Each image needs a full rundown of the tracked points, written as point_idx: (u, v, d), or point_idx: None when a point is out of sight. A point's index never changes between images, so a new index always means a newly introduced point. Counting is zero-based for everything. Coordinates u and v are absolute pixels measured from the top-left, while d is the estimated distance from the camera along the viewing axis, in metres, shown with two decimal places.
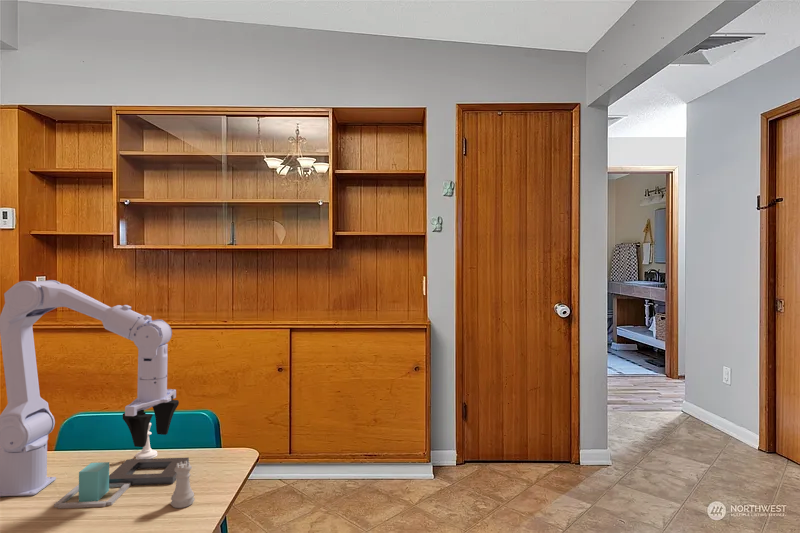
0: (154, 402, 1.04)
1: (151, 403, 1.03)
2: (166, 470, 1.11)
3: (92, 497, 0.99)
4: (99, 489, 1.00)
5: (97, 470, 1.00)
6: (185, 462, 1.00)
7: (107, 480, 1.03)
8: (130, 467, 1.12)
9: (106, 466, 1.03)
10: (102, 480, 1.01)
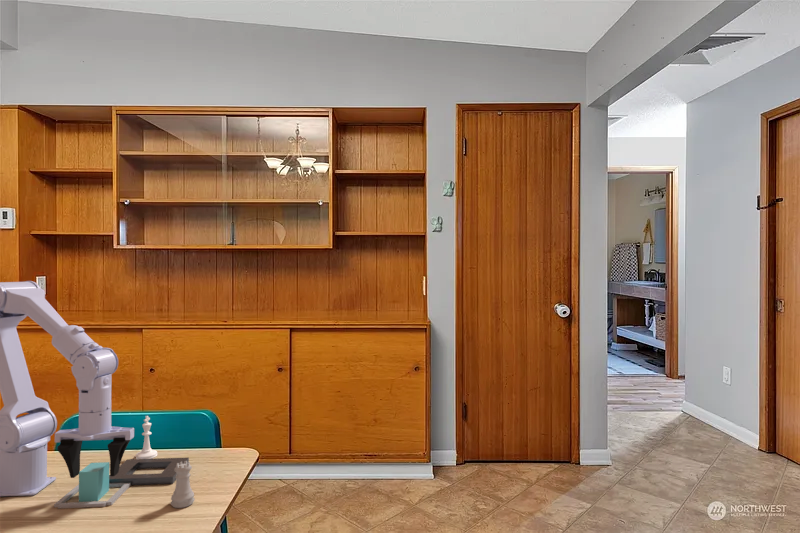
0: (75, 435, 0.99)
1: (73, 435, 0.99)
2: (166, 470, 1.11)
3: (92, 497, 0.99)
4: (99, 489, 1.00)
5: (97, 470, 1.00)
6: (185, 462, 1.00)
7: (107, 480, 1.03)
8: (130, 467, 1.12)
9: (106, 466, 1.03)
10: (102, 480, 1.01)
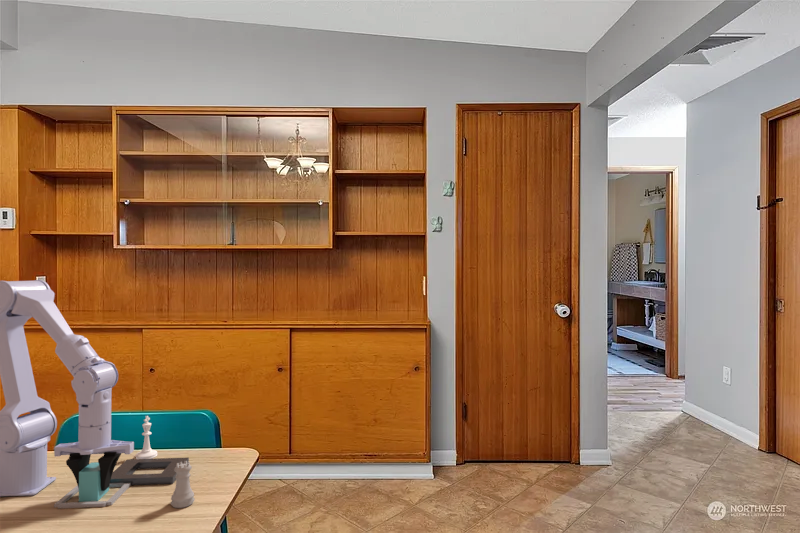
0: (75, 450, 0.99)
1: (72, 450, 0.99)
2: (166, 470, 1.11)
3: (92, 497, 0.99)
4: (99, 489, 1.00)
5: (97, 470, 1.00)
6: (185, 462, 1.00)
7: None
8: (130, 467, 1.12)
9: None
10: None
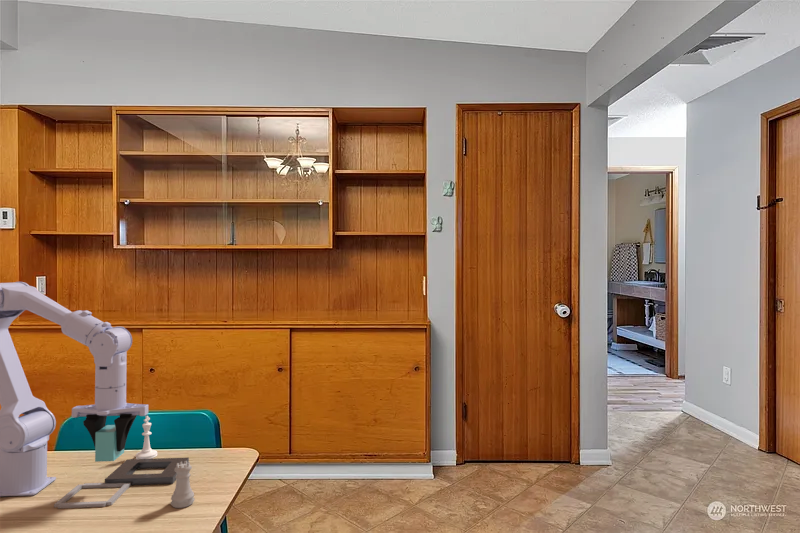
0: (92, 411, 1.02)
1: (89, 411, 1.02)
2: (166, 470, 1.11)
3: (108, 457, 1.02)
4: (115, 450, 1.03)
5: (113, 431, 1.03)
6: (185, 462, 1.00)
7: None
8: (130, 467, 1.12)
9: None
10: None
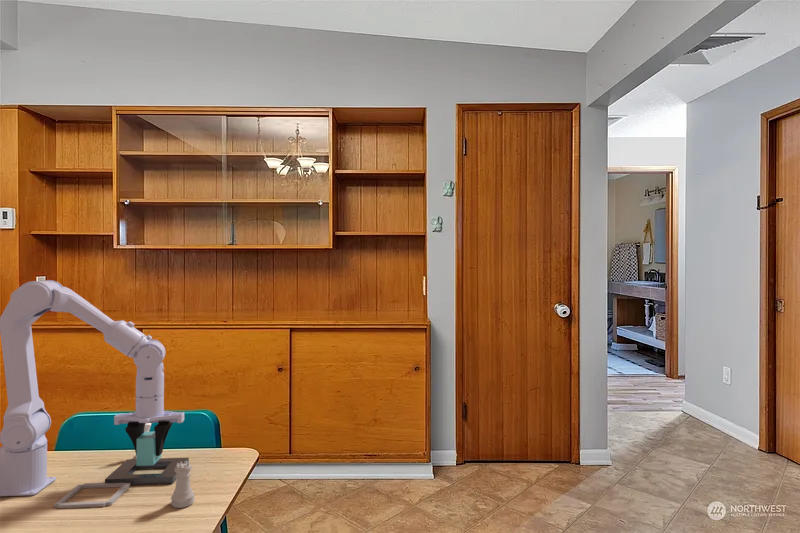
0: (133, 418, 1.10)
1: (131, 418, 1.10)
2: (166, 470, 1.11)
3: (148, 461, 1.10)
4: (154, 455, 1.11)
5: (152, 437, 1.10)
6: (185, 462, 1.00)
7: None
8: (130, 467, 1.12)
9: None
10: None
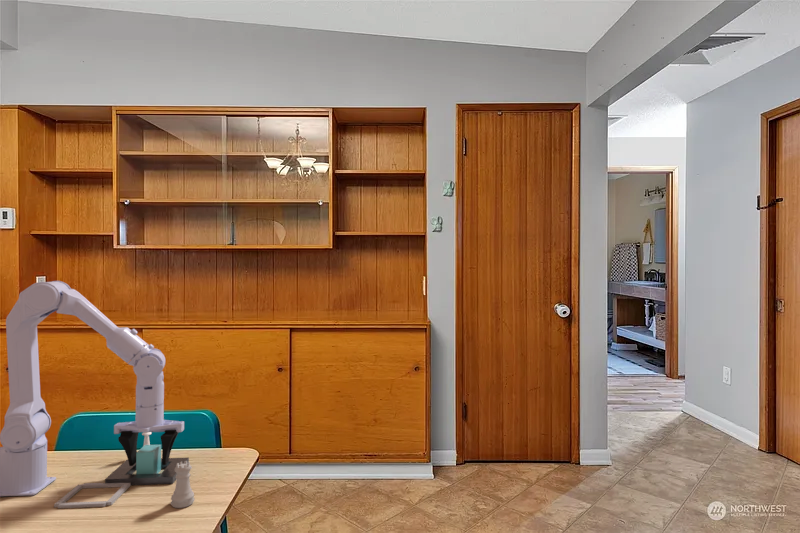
0: (133, 428, 1.10)
1: (130, 428, 1.10)
2: (166, 470, 1.11)
3: None
4: (154, 468, 1.11)
5: (152, 451, 1.10)
6: (185, 462, 1.00)
7: (159, 461, 1.14)
8: (130, 467, 1.12)
9: (159, 448, 1.14)
10: (156, 460, 1.12)
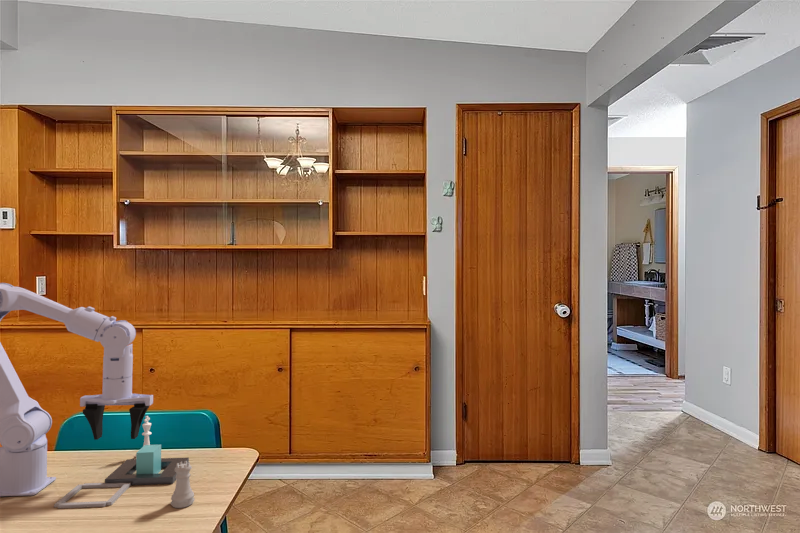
0: (99, 400, 1.07)
1: (97, 400, 1.07)
2: (166, 470, 1.11)
3: None
4: (154, 468, 1.11)
5: (152, 451, 1.10)
6: (185, 462, 1.00)
7: (159, 461, 1.14)
8: (130, 467, 1.12)
9: (159, 448, 1.14)
10: (156, 460, 1.12)
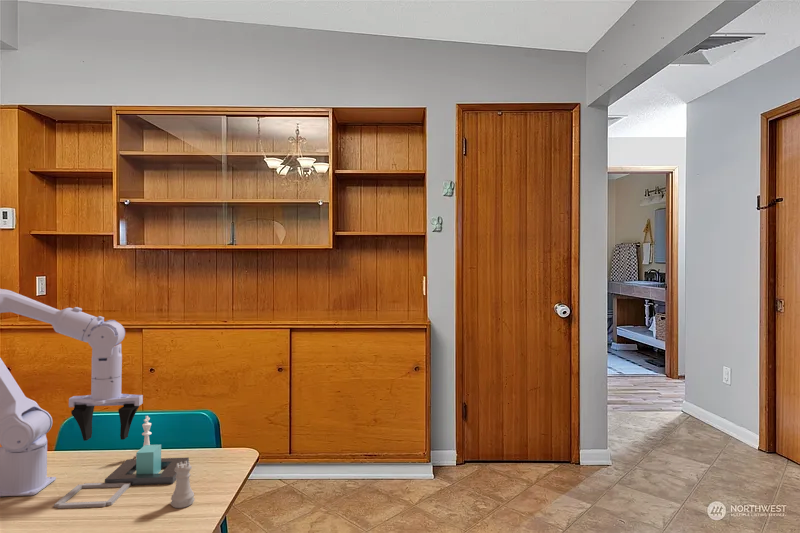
0: (88, 400, 1.06)
1: (86, 400, 1.06)
2: (166, 470, 1.11)
3: None
4: (154, 468, 1.11)
5: (152, 451, 1.10)
6: (185, 462, 1.00)
7: (159, 461, 1.14)
8: (130, 467, 1.12)
9: (159, 448, 1.14)
10: (156, 460, 1.12)
